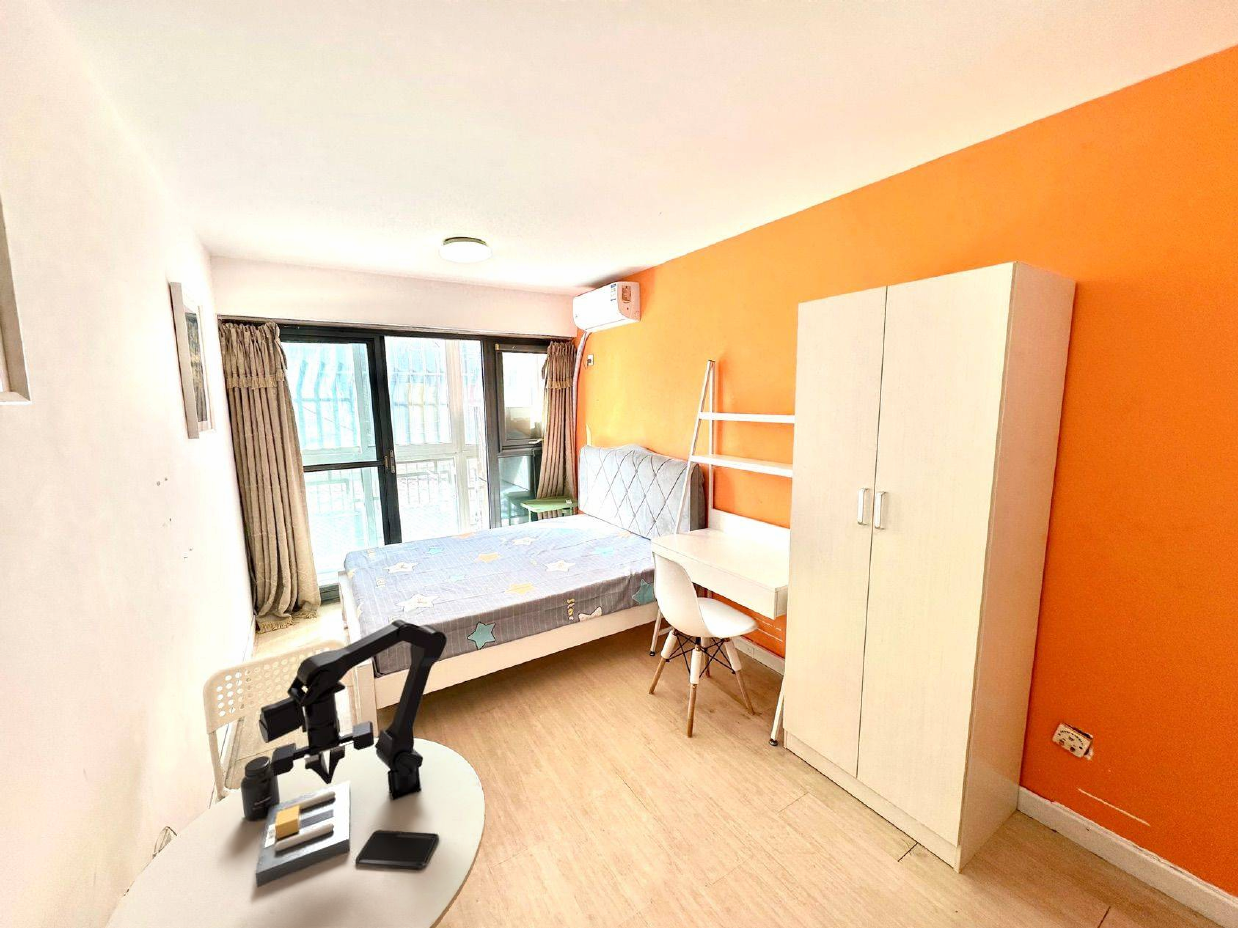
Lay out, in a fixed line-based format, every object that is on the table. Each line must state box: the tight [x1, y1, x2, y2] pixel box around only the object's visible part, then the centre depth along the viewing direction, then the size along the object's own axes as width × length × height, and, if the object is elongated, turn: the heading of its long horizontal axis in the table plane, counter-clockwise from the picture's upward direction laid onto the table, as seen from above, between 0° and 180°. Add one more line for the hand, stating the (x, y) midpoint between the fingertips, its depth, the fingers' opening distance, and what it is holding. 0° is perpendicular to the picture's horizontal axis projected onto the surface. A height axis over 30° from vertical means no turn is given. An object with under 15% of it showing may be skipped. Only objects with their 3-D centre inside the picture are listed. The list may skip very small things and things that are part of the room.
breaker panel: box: [255, 780, 352, 888], centre depth 109 cm, size 16×18×3 cm
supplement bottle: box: [240, 755, 281, 822], centre depth 115 cm, size 7×7×12 cm
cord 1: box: [275, 823, 334, 851], centre depth 104 cm, size 11×2×2 cm, turn 118°
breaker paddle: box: [275, 805, 301, 839], centre depth 107 cm, size 4×4×3 cm
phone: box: [354, 829, 440, 871], centre depth 104 cm, size 8×1×15 cm
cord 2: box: [281, 791, 336, 811], centre depth 113 cm, size 11×2×2 cm, turn 118°
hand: (329, 782), depth 108 cm, fingers closed
